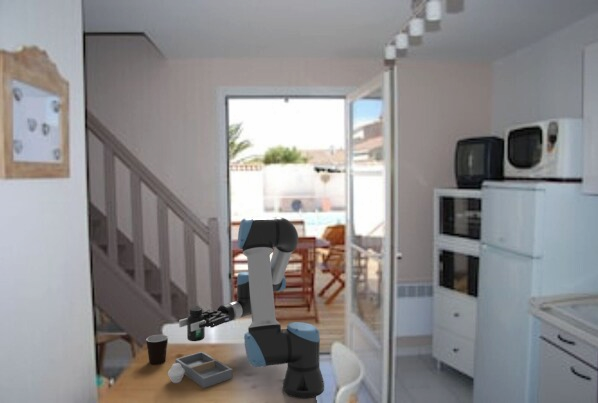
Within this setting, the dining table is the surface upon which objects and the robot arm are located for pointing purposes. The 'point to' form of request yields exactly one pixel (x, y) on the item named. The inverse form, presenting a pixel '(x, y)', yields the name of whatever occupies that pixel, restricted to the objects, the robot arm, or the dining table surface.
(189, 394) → the dining table surface
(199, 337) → the supplement bottle
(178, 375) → the white lumpy chunk
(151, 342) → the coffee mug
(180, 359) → the caddy
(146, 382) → the dining table surface
